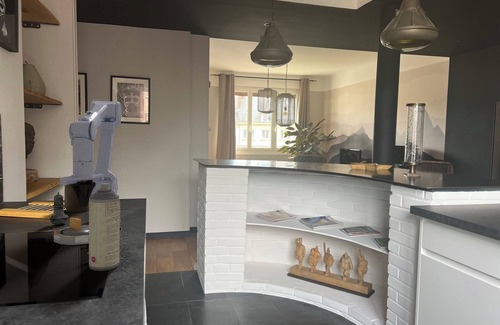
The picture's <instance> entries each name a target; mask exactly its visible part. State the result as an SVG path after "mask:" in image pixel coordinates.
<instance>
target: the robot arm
mask: <svg viewBox="0 0 500 325" xmlns="http://www.w3.org/2000/svg"><path fill="white" fill-rule="evenodd" d="M122 109H123V108H122V103H121V102H120V101H108V100H107V101H105V100H103V101H102V100H92V101H91V102H90V105H89V110H87V111H86V112H84V114H83V115H82V116H81V117H80V118H79V119H78V120H74V121H73V122H70V124H69V126H68V128H69V129H68V135H69V138H70V146H72V174H71V175H70V176H63V177H59V185H60V186H61V185H62V186H65V185H68V184H71V187H72V188H73V190H74V192H75V194H76V196H77V199H78V202H79V206H83V207H85V206H88V202H89V199H90V196H93V195H94V193H95V192H96V191H98V189H99V188H101V184H102V183H108V184H109V188H110V189H112V191H114V192H115V194H116V195H118V190H119V189H118V177H117V175H115V174H114V173H113V172H112V171H111V166H112V165H111V164H112V156H113V148H114V147H113V146H114V139H115V132H116V128H118V127H120V126H121V122H122V114H123V113H122V112H123V111H122ZM98 128H99V129H100V132H99V131H98ZM98 132H99V133H100V135H99V141H98V149H97V158H96V165H95V164H94V163H95V161H94V156H95V153H94V152H95V150H94V149H95V145H94V144H95V142H94V141H95V140H96V139H97V135H98ZM94 165H95V166H96V167H95V166H94ZM94 167H95V169H94ZM86 179H87V180H86ZM80 180H81V181H80ZM120 222H122V219H120Z"/></svg>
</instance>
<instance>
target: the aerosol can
mask: <svg viewBox="0 0 500 325" xmlns="http://www.w3.org/2000/svg"><path fill="white" fill-rule="evenodd" d="M120 220H121V200H120V195H119V194H117V195H116V194H115V192H114V191H112V189H110V188H109V184H108V183H102V184H101V188H99V189H98V191H96V192H95V193H94V195H93V196H90V200H89V210H88V225H89V244H88V268H89V270H91V271H95V272H96V271H99V272H100V271H101V272H102V271H109V270H114V269H115V268H116V269H117V268H118V267H119V266H120V227H121V226H120V223H121V221H120Z"/></svg>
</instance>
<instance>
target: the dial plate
mask: <svg viewBox="0 0 500 325" xmlns="http://www.w3.org/2000/svg"><path fill="white" fill-rule="evenodd" d="M81 226H89V224H81ZM69 228H70V226H66V227H61V228H59V229H56V230H54V233H53V242H54V243H57V244H59V245H67V246H68V245H69V246H70V245H71V246H75V245H87V244H88V245H89V235H83V236H65V235H64V230H66V229H69Z"/></svg>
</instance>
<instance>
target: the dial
mask: <svg viewBox="0 0 500 325" xmlns="http://www.w3.org/2000/svg"><path fill="white" fill-rule="evenodd" d="M81 225H82V219H81V218H78V217H74V216H73V217H72V216H71V217H69V227H70V228H69V229H66V230H64V235H65V236H83V235H89V226H81Z"/></svg>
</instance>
